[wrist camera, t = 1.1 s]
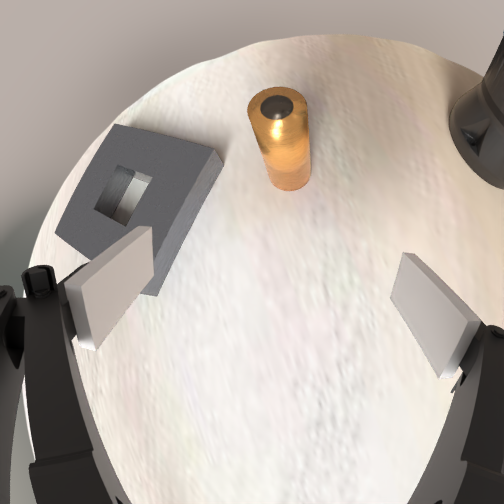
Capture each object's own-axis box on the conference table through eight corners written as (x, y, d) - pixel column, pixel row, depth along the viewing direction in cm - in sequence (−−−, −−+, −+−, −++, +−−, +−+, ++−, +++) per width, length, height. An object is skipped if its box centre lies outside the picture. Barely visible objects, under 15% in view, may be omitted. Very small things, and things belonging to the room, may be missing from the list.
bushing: (279, 149, 35) (262, 81, 23) (317, 162, 34) (315, 94, 22) (261, 182, 34) (236, 121, 23) (301, 197, 33) (293, 137, 21)
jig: (128, 137, 41) (114, 123, 37) (224, 165, 36) (214, 148, 32) (72, 239, 39) (54, 232, 35) (156, 296, 34) (138, 293, 30)
